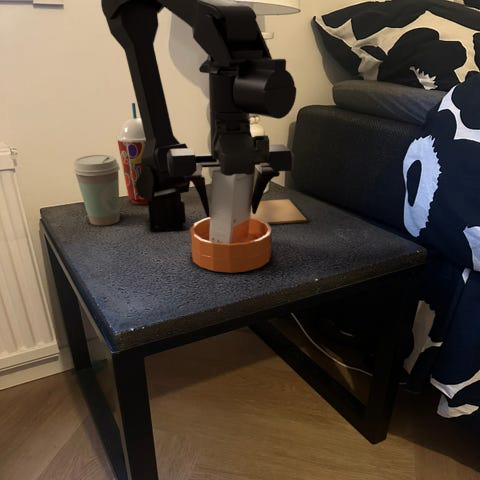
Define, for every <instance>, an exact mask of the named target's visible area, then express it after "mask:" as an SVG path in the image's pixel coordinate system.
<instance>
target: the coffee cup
mask: <svg viewBox="0 0 480 480" xmlns="http://www.w3.org/2000/svg"><path fill="white" fill-rule="evenodd" d="M73 164H74V165H73V173H74V174H75V177H76V180H77V184H78V187H79V191H80V195H81V197H82V200H83V203H84V207H85V210H86V213H87V217H88V220H89V223H90V224H91V225H93V226H101V227H102V226H110V225H113V224H116V223H118V222H119V221H120V220H121V219H120V180H119V176H120V175H119V171H120V169H121V167H120V164H119V162H118V161H117V158H116V157H115V156H114V155H111V154H110V155H109V154H91V155H90V154H89V155H88V154H87V155H84V156H80V157H77V158H75V159H74V163H73Z"/></svg>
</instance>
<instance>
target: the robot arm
mask: <svg viewBox="0 0 480 480" xmlns="http://www.w3.org/2000/svg"><path fill="white" fill-rule="evenodd" d="M100 5H101V6H100V7H101V11H102V13H103V15H104V17H105V21H106V23H107V27H108V29H109V32H110V34H111V36H112V37H113V38H114V39H115V41H116V42H117V43H118V44H119V46H120V47H121V48H122V50H124V55H125V58H126V62H127V66H128V70H129V75H130V79H131V83H132V88H133V91H134V96H135V99H136V104H137V108H138V113H139V118H141V121H142V126H143V130H144V134H145V138H146V143H145V146H144V150H143V153H142V157H141V161H142V167H143V171H142V172H141V174H140V176H139V178H138V180H137V182H136V184H135V185H136V189H137V193H138V195H139V196H140V197H143V198H145V199H147V201H148V204H147V209H148V210H147V211H148V222H149V223H148V224H149V225H148V226H149V231H150V232H163V231H178V230H184V229H185V223H186V222H187V221H186V220H187V219H186V206H185V200H184V198H182V194H183V193H189V192H190V185H191V182H192V184H193V187H194V188H195V190H196V192H197V194H198V196H199V199H200V202H201V205H202V207H203V211H204V213H205V216H206V218H210V203H209V198H208V192H207V185H206V177H205V175H204V173H203V168H220V169H221V173H222V174H223V175H226V176H232V175H233V174H246V175H251V174H253V173H254V172H255V175H254V185H253V196H252V213H253V214H256V212H257V209H258V206H259V204H260V201H262V198H263V196H264V193H265V190H266V188H267V187H268V184H269V183H270V182H271V180H273V179H274V178H277V177H279V176H280V175H281V172H292V171H294V170H295V154H294V152H293V151H292V150H290V149H289V147H287V146H286V145H285V144H270V138H269V136H268V135H267V134H266V135H264V134H263V135H254V136H252V132H251V120H250V115H254V116H260V117H261V116H262V117H266V118H272V119H278V120H280V119H283V118H285V117H286V116H287V115H289V113H290V112H291V111H292V109H293V107H294V105H295V102H296V98H297V87H296V83H295V80H294V77H293V75H292V74H291V72H290V71H288V69H287V60H286V58H273V57H272V55H271V52H270V49H269V47H268V45H267V42H266V40H265V38H264V35H263V33H262V30H261V28H260V26H259V24H258V21H257V14H256V12H255V10H254V9H253V8H252V7H250V6H249V5H246V4H243V3H240V2H236V1H233V0H100ZM163 9H167V11H169V12H171V13H172V14H173V15H175V16H176V17H177V18H179V19H180V20H181V21H183V22H184V23H185V24H187V25H188V27H189V28H191V33H192V39H193V40H194V41H195V42H196V44H197V45H198V46H199V47H200V48H201V49H202V50H203V52H204V53H205V54H206V55H207V56H206V57H207V58H206V59H205V61H203V63H201V64H200V66H199V69H198V70H199V72H200V73H202V74H208V97H209V98H208V99H209V101H208V102H209V129H210V131H209V132H210V153H201V154H195V151H194V149H193V147H189V148H188V145H187V144H186V143H185V142H184V143H181V142H180V141H179V140H178V138H177V137H176V136H175V135H174V131H173V127H172V123H171V118H170V114H169V113H170V112H169V109H168V105H167V100H166V94H165V90H164V86H163V82H162V77H161V72H160V68H159V63H158V59H157V53H156V50H155V40H156V36H157V33H158V31H159V30H158V29H159V26H160V23H159V14H160V13H161V12H162V11H163Z"/></svg>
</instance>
